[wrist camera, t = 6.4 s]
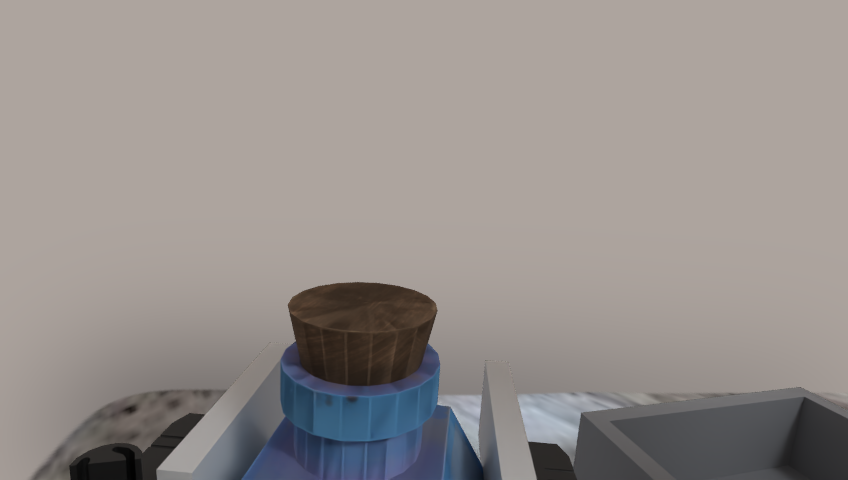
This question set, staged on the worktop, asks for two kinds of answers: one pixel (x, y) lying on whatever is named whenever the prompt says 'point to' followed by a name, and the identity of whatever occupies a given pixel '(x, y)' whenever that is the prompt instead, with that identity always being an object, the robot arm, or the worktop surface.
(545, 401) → the worktop surface
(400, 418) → the perfume bottle
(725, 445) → the bin
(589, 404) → the worktop surface
